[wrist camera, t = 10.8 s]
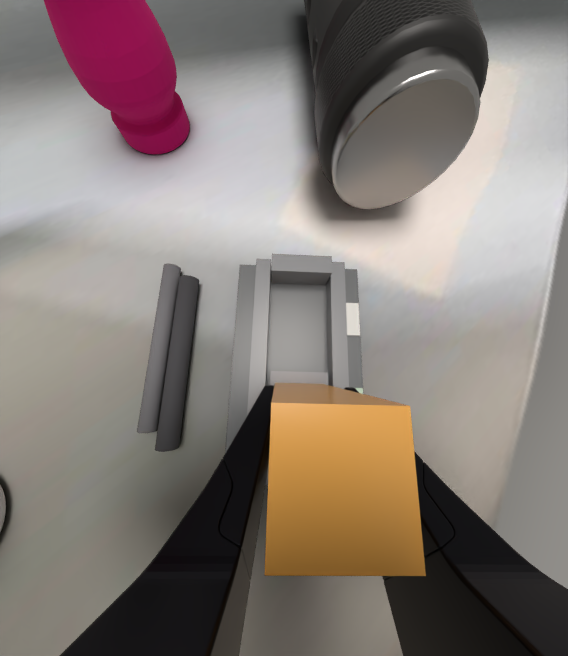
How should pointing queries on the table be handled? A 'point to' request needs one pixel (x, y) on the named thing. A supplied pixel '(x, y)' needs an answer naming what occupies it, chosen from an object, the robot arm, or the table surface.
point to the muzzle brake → (393, 92)
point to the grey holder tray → (293, 327)
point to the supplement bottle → (2, 507)
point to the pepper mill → (124, 68)
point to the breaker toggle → (340, 483)
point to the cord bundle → (169, 359)
